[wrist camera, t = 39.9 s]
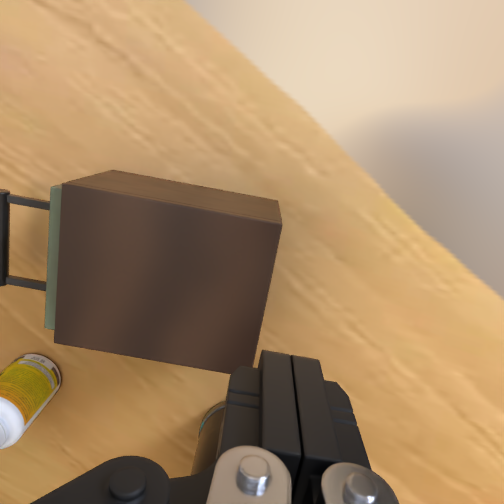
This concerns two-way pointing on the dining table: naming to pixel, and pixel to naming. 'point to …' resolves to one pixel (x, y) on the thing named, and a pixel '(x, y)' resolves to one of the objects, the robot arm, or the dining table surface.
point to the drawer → (3, 198)
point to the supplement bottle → (25, 394)
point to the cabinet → (164, 270)
